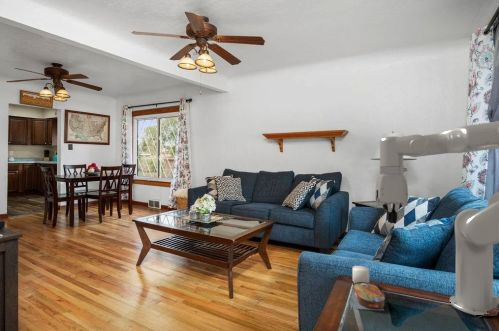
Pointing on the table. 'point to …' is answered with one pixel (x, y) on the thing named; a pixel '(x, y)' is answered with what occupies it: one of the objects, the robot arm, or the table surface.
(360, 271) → the white rounded dome
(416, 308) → the table surface
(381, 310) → the mat
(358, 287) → the tin
